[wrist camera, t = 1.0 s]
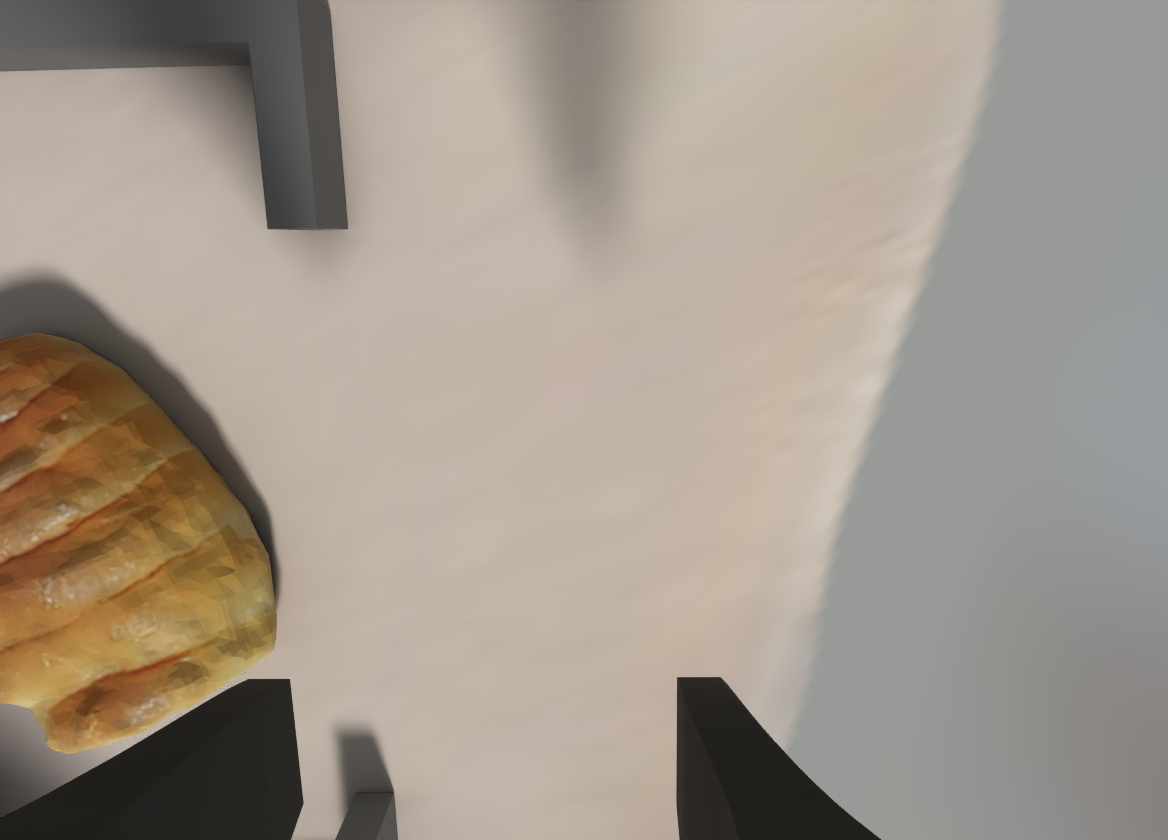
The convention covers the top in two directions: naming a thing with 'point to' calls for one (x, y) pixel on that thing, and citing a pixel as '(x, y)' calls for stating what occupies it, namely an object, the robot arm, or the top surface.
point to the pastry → (115, 553)
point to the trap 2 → (370, 818)
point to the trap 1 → (205, 38)
